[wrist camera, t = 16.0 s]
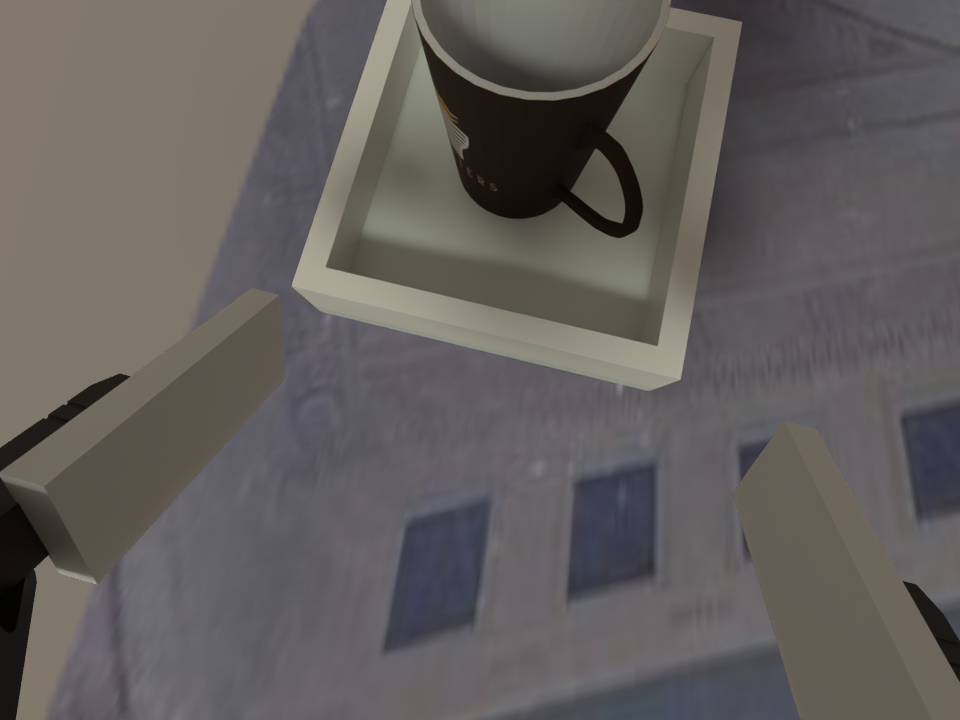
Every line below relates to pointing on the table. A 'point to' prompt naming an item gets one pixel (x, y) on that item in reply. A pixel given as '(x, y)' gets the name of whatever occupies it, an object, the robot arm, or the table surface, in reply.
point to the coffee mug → (538, 95)
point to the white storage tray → (532, 241)
